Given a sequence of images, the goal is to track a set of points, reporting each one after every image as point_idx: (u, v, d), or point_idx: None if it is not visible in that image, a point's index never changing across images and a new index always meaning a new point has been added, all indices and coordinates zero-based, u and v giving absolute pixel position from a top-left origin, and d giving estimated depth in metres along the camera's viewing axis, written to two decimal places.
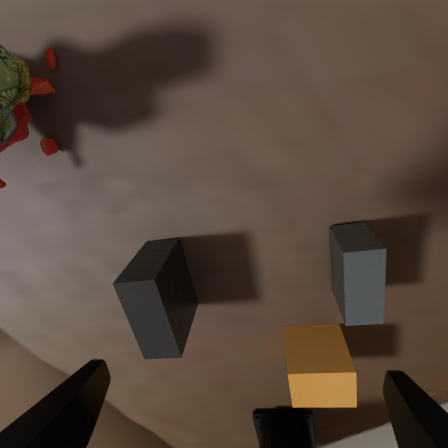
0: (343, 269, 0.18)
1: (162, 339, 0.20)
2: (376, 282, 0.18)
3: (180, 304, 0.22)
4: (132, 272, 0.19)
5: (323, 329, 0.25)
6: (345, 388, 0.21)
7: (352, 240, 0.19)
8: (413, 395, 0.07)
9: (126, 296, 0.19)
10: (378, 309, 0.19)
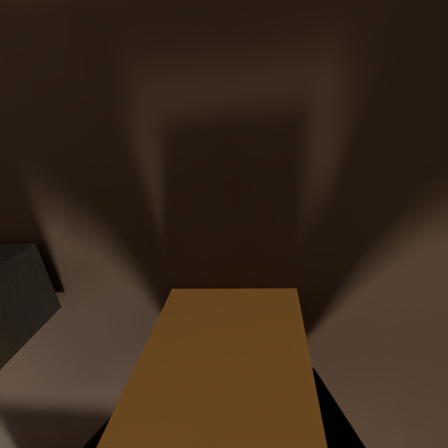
0: None
1: None
2: None
3: None
4: None
5: None
6: None
7: None
8: None
9: None
10: None
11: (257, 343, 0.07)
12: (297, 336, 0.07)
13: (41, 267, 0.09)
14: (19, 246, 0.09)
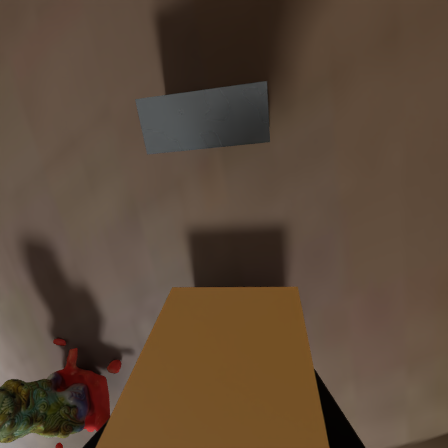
0: (173, 151, 0.14)
1: None
2: (188, 105, 0.13)
3: None
4: None
5: None
6: None
7: None
8: None
9: None
10: (238, 93, 0.12)
11: (257, 341, 0.07)
12: (298, 335, 0.07)
13: None
14: None
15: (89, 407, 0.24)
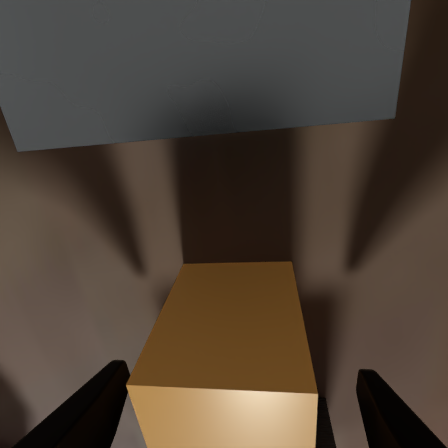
0: None
1: None
2: None
3: None
4: None
5: None
6: (208, 413, 0.06)
7: None
8: (381, 393, 0.07)
9: None
10: None
11: (258, 299, 0.08)
12: (291, 294, 0.08)
13: None
14: None
15: None
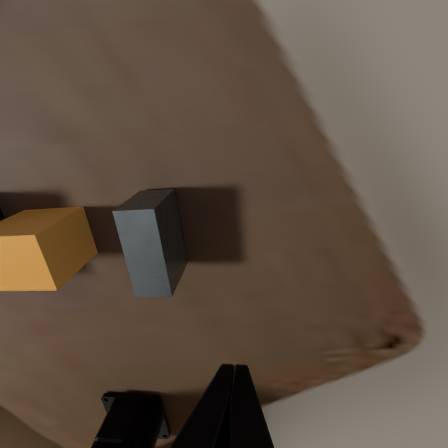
0: None
1: None
2: (153, 248, 0.16)
3: None
4: None
5: (60, 210, 0.21)
6: (33, 260, 0.17)
7: (138, 201, 0.17)
8: (240, 386, 0.08)
9: None
10: (163, 280, 0.17)
11: (77, 252, 0.20)
12: (83, 262, 0.21)
13: None
14: (185, 260, 0.21)
15: None
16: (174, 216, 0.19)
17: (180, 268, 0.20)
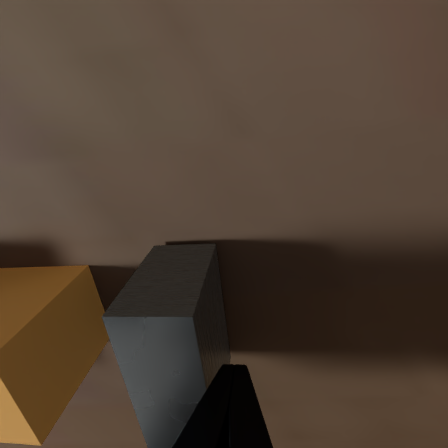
0: None
1: None
2: (187, 383, 0.08)
3: None
4: None
5: (49, 273, 0.12)
6: None
7: (154, 283, 0.09)
8: (239, 386, 0.08)
9: None
10: None
11: (79, 351, 0.11)
12: (90, 363, 0.12)
13: None
14: (229, 354, 0.13)
15: None
16: (217, 295, 0.10)
17: None
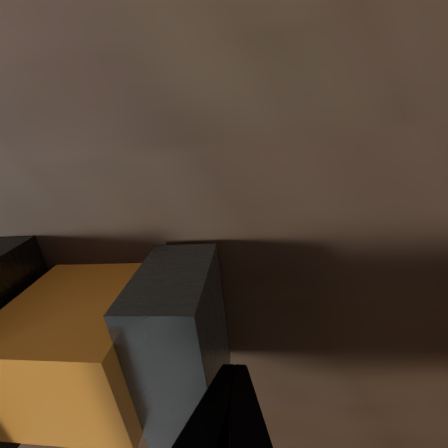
0: None
1: None
2: (188, 382, 0.08)
3: None
4: None
5: (122, 271, 0.11)
6: (92, 404, 0.08)
7: (155, 283, 0.09)
8: (239, 386, 0.08)
9: None
10: None
11: None
12: None
13: None
14: (229, 354, 0.13)
15: None
16: (217, 295, 0.11)
17: None
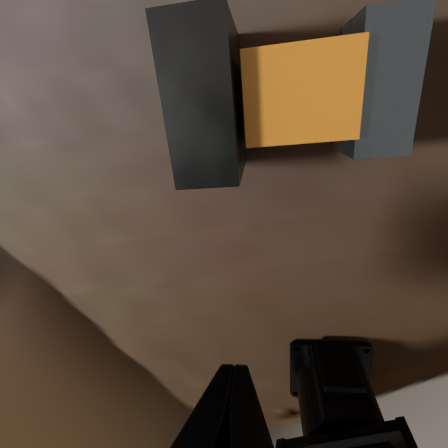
0: None
1: (214, 144, 0.12)
2: (411, 69, 0.11)
3: (238, 116, 0.14)
4: None
5: None
6: (344, 84, 0.11)
7: None
8: (240, 386, 0.08)
9: (166, 43, 0.11)
10: (407, 127, 0.12)
11: None
12: None
13: None
14: None
15: None
16: None
17: None
